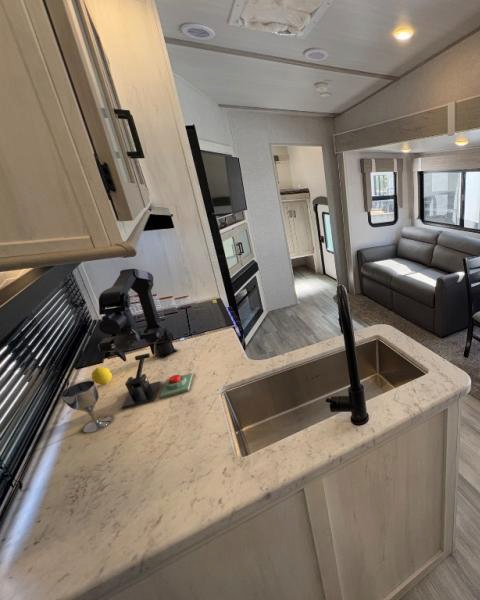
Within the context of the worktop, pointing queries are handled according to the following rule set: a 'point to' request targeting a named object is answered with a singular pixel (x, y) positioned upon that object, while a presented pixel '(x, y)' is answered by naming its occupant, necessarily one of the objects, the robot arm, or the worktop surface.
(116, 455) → the worktop surface
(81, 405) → the wine glass
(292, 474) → the worktop surface
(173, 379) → the button
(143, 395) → the bracket
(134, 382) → the lever
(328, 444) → the worktop surface
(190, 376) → the control block
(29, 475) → the worktop surface
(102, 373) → the lemon
